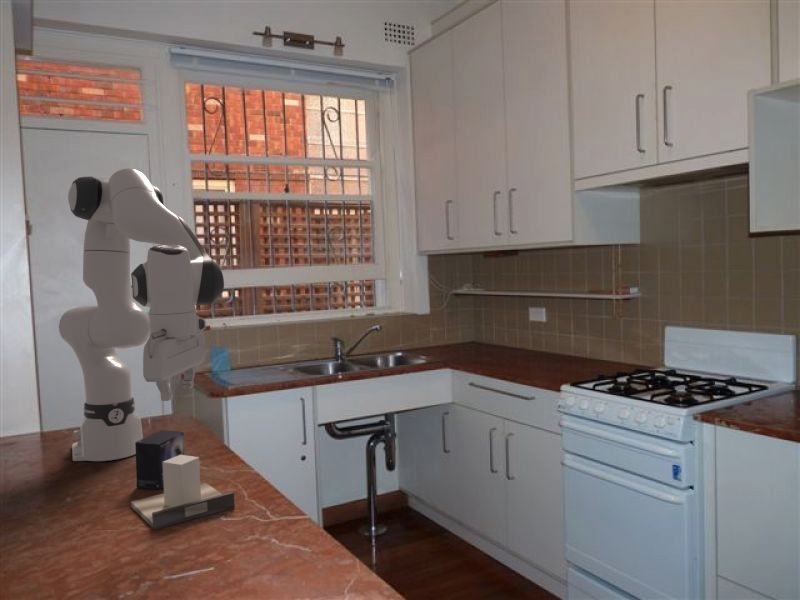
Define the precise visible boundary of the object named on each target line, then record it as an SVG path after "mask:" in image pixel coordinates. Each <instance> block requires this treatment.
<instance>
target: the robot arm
mask: <svg viewBox="0 0 800 600" xmlns="http://www.w3.org/2000/svg"><path fill="white" fill-rule="evenodd" d="M67 200H68V205H69V208H70V211H71V213H72V214H73V215H74V217H77V218H79V219H82V220H86V221H87V223H86V227H85V233H84V239H83V255H82V257H83V258H82V261H83V263H82V282H83V283H84V285H85V286H86V287H87V288H89V289H90V290H91V291H92V292H93V294H94V296H95V299H96V303H97V305H82V306H78V307H73V308H70V309H68V310H66V311H65V312H64V313H63V314H62V315H61V317H60V320H59V322H58V332H59V334H60V335H59V336H61V338H62V339H63V341H65V342H66V343H67V344H68V345H69V346H70V348H71V349H72V350H73V352H74V354H75V356H76V358H77V359H78V362H79V364H80V368H81V370H82V374H83V375H82V376H83V383H84V392H85V394H84V395H85V402H84V405H83V416H84V418H83V420H82V421H81V424H80V429H76V430H73V440H79V439H80V441H76V442H73V443H72V446H71V454H72V455H71V456H72V461H73V462H85V461H88V462H106V461H113V460H120V459H124V458H128V457H131V456H134V455H136V449H135V442H137V441H139V440H141V439H144V435H143V428H142V427H143V426H142V421H141V420H142V419H141V417H139V415H137V414H136V413H135V410H136V408H135V405H136V404H135V400H134V399H135V398H134V397H133V393H132V376H131V375H132V374H131V373H132V372H131V369H130V366H128V365H127V364H126V363H125V362H124V361H122V359H121V358H120V357H119V355H118V353H117V351H116V349H122V350H123V349H124V350H125V349H129V348H135V347H140V346H142V345H144V347H143V350H142V351H143V355H142V356H143V357H142V374H143V379H144V381H146V382H147V383H155V384H156V387H157V388H158V391H159V392H160V400H161V401H163V402H169V401H171V400H172V399H173V398H174V395H173V392H174V391H173V389H172V390H171V387H170V385H169V384H171V381H170V379H171V378H173V377H175V376H177V375H179V374H181V373H183V372H184V375H183V380H182V381H181V384H182V389H183V390H191V389H192V388H194V386H195V385H194V384H195V383H194V382H195V381H194V378H195V374H196V370H197V369H196V366H198V365H200V364H202V363H203V362H204V361H205V358H206V336H205V335H206V334H205V331H204V330H206V328H207V321H206V319H204V318H203V317H201V316H199V315H197V310H196V306H210V305H212V304H214V303H215V302H216V301H217V300H218V299H219V298H220V297H221V295H222V294H223V292H224V289H225V280H224V275H223V272H222V270H221V267H220V266H219V265H218V263H216V262H215V260H214V259H212V258H211V257H210V256H209V254H208V253H207V251H206V250H205V249H204V247H203V246H202V243H201V242H200V241H199V239H198V238H197V236H196V235H195V234H194V232H193V230H192V229H191V228H190V227H189V225H188V224H187V222H186V221H185V219H183V218H182V217H181V216H179V215H177V214H175V213H174V212H172V211H170V210H169V209H168V207H167V208H166V206H164V205H165V204H164V196H163V193H162V191H161V190H160V189H159V187H157V186H154V185H153V184H152V183H151V181H150V180H149V178H147V176H146V175H145V174H144V173H143V172H141V171H139V170H138V169H134V168H127V167H126V168H121V169H118V170H117V171H115V172H113V174H112V175H111V176H110V177H109V178H107V177H106V178H105V177H93V176H81V177H77V178H75V180H73V181H72V183H71V186H70V188H69V190H68V194H67ZM130 240H133V241H136V242H140V243H147V244H154V246H152V247H150V248H149V249H148V251H147V258H146V261H145V262H143V263H140V264H139V265H138V266H137V267H136V268H135V269H133V270H132V272H131V244H130V243H131V241H130ZM139 304H140V305H141V306H142V307H147V308H149V309H148V313H147V312H146V311H145V310H144V309H143V308H142V307H141V306H140V305H139Z"/></svg>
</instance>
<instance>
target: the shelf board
mask: <svg viewBox="0 0 800 600" xmlns="http://www.w3.org/2000/svg"><path fill="white" fill-rule="evenodd" d="M200 487H201V500H198V501H194V502H191V503H187V504H183V505H179V506H176V507H171V506H166V505H165V502H164V492H163V493H160V494H156V495H152V496H148V497H144V498H140V499H135V500H132V501H130V507H131V508H132V510H134V511H135V512H136V513H137V514H138V515H139V516H140V517H141V518H142V519H143V520H144V521H145V522H146V523H147V524H148V525H149V526H150V527H151V528H152V530H159V529H162V528H166V527H169V526H173V525H177V524H181V523H184V522H188V521H191V520H194V518H195V519H198V518H201V517H205V516H208V515H211V514H216V513H219V511H220V512H223V511H227V510H230V509H234V508H235V492H233V491H229V492H225V493H221V492H220V491H218V490H217V489H216V488H214V487H213V486H211V485H210V484H208V483H207V482H204V483H200ZM187 520H188V521H187Z"/></svg>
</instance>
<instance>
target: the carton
mask: <svg viewBox="0 0 800 600" xmlns="http://www.w3.org/2000/svg"><path fill="white" fill-rule="evenodd" d="M162 463H163V483H164V487H163V493H164V502H165V505H166V506H171V507H176V506H179V505H183V504H187V503H191V502H194V501H198V500H201V487H200V484H201V471H200V457H199V456H193V455H186V454H184V455H178V456H176V457H173V458H171V459H168V460H166V461H163V462H162Z"/></svg>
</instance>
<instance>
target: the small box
mask: <svg viewBox="0 0 800 600" xmlns="http://www.w3.org/2000/svg"><path fill="white" fill-rule="evenodd" d="M184 433H185V432H184V431H178V430H177V431H175V430H164V429H160V430H159V431H156V432H154V433H152V434H151V435H148V436H146V437H143V439H141V440H139V441H137V442H135V449H136V454H135V471H136V474H135V475H136V488H139V489H141V488H142V489H154V490H162V489H164V483H163V463H162V462H163V461H166V460H168V459H171V458H173V457H176V456H178V455H185V435H184Z"/></svg>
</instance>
